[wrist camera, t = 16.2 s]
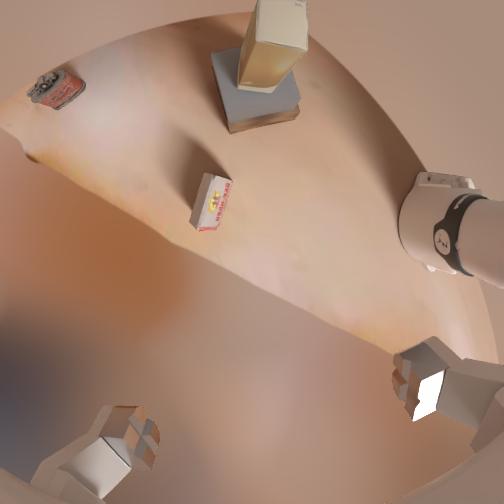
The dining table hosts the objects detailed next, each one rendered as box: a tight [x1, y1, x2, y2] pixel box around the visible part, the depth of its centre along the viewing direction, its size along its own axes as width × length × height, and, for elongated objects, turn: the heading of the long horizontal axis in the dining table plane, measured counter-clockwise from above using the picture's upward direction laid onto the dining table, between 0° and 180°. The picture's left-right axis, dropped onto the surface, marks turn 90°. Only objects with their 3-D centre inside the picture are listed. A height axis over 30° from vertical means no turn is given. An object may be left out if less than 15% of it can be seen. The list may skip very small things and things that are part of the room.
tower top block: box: [210, 46, 301, 123], centre depth 30 cm, size 9×9×5 cm
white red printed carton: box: [189, 172, 233, 231], centre depth 35 cm, size 4×7×10 cm, turn 162°
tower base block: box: [212, 66, 300, 134], centre depth 34 cm, size 10×10×5 cm
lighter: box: [26, 69, 86, 110], centre depth 30 cm, size 8×3×10 cm, turn 111°
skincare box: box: [237, 0, 308, 93], centre depth 21 cm, size 6×4×12 cm
